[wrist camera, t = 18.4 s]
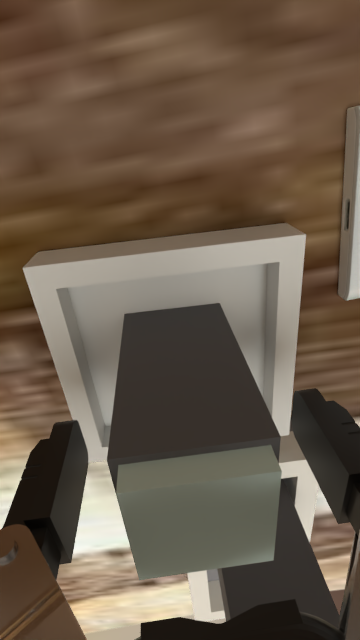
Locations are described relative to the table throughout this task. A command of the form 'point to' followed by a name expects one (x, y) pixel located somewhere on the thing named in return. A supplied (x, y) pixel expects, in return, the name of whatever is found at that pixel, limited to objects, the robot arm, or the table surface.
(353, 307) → the table surface
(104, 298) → the tray
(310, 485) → the white compartment holder
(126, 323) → the dark board eraser
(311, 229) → the table surface
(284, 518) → the dark grey orange block
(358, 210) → the hard drive
